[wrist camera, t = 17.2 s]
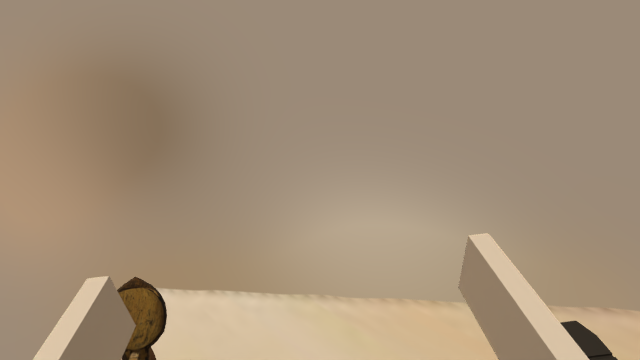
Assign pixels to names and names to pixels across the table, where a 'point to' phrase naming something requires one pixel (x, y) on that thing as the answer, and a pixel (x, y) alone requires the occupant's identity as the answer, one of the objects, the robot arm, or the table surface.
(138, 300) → the wooden mug
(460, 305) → the table surface
